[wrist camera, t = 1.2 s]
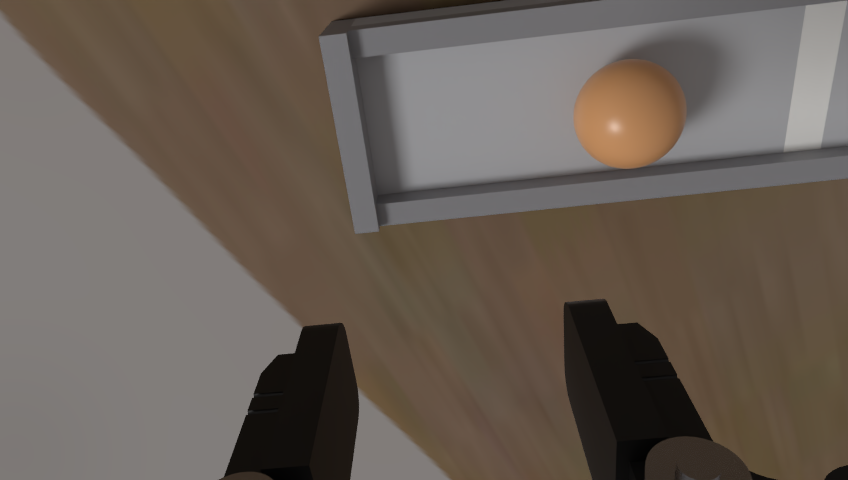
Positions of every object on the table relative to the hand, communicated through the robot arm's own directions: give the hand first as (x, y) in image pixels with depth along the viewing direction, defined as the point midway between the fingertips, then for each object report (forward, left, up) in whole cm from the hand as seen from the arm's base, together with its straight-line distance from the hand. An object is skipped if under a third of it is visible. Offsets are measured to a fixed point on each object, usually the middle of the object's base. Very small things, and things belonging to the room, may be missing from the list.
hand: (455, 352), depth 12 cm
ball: (0, +7, -13) cm, 15 cm away
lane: (0, +14, -17) cm, 22 cm away
